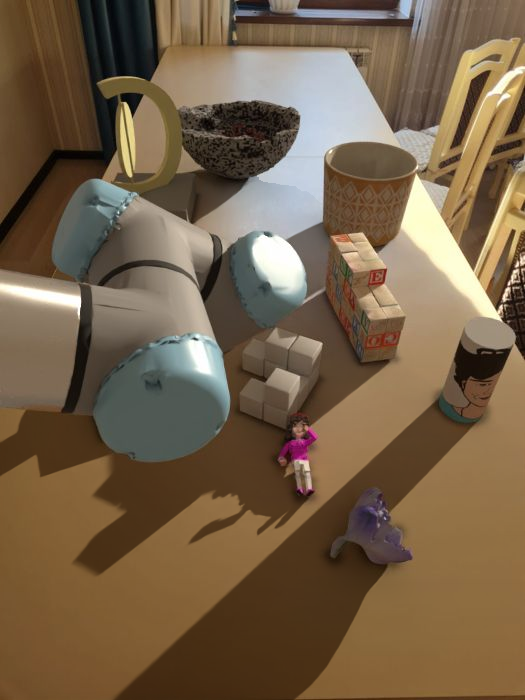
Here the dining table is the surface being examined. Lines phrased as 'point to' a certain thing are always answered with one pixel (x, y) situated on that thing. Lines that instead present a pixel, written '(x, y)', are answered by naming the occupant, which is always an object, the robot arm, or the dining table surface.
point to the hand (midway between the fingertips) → (93, 398)
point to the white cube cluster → (279, 375)
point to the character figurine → (299, 449)
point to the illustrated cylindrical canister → (476, 368)
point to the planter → (367, 189)
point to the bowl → (238, 136)
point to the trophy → (166, 184)
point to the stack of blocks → (363, 297)
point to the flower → (373, 531)
